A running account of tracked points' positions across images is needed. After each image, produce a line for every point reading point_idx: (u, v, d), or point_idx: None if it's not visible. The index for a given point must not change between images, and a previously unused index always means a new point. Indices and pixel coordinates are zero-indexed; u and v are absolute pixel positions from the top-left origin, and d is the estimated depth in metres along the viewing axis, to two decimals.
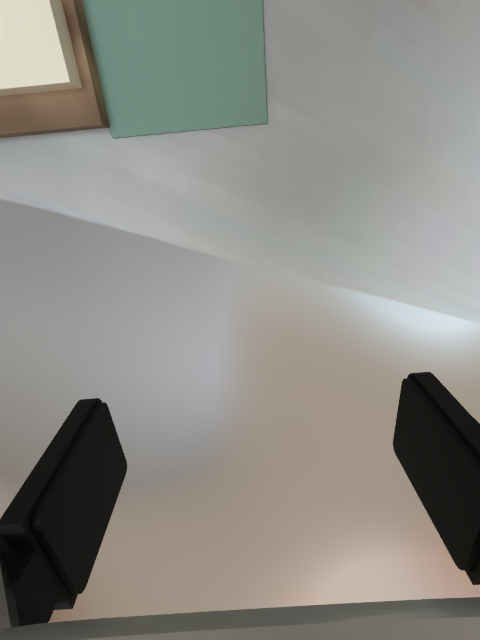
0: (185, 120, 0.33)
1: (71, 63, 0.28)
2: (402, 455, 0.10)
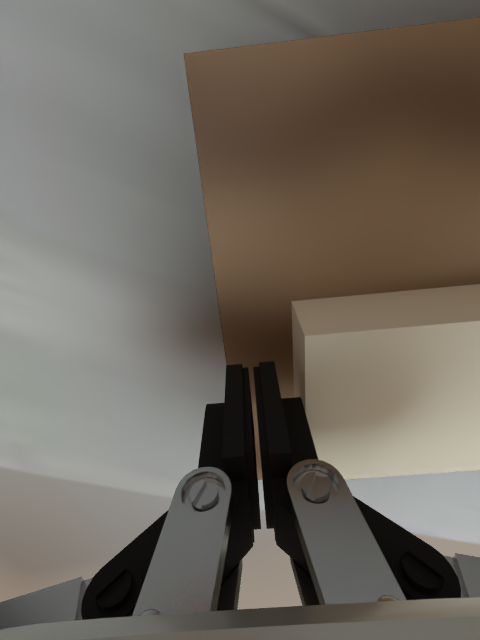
0: None
1: None
2: None
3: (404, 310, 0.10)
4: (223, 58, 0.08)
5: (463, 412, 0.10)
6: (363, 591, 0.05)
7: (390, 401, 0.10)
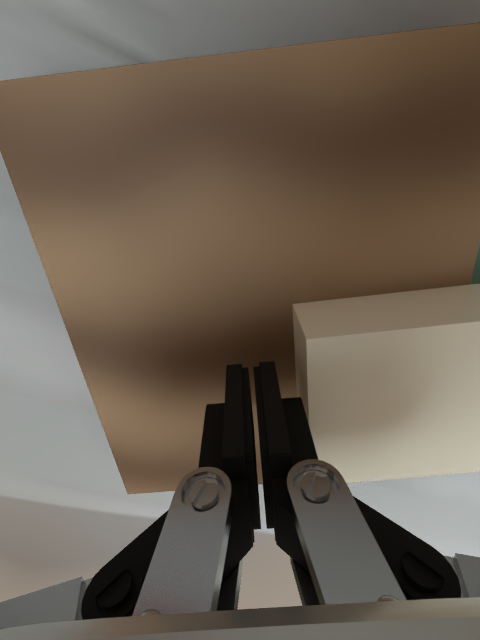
0: None
1: None
2: None
3: (406, 311, 0.10)
4: (16, 88, 0.09)
5: (468, 413, 0.10)
6: (363, 591, 0.05)
7: (394, 403, 0.10)
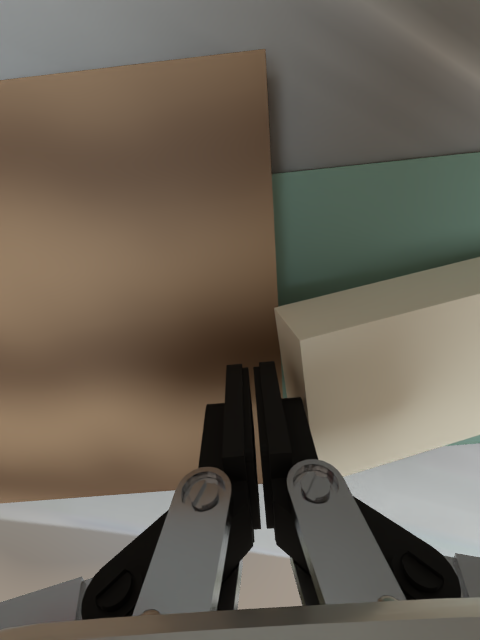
0: None
1: None
2: None
3: (384, 300, 0.10)
4: None
5: (449, 387, 0.11)
6: (364, 591, 0.05)
7: (385, 389, 0.10)
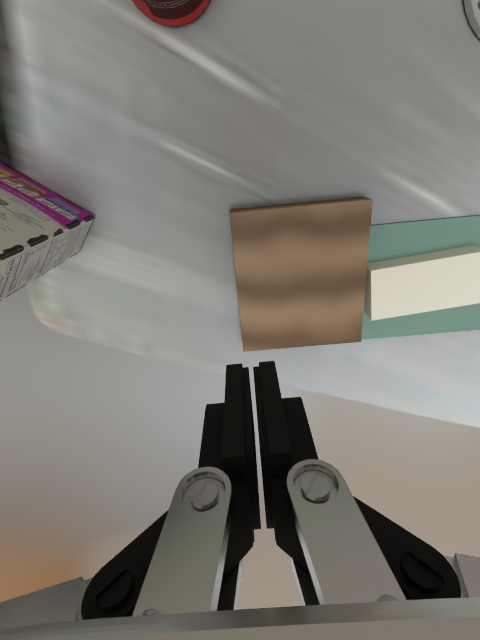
0: (417, 328, 0.41)
1: None
2: None
3: (397, 262, 0.36)
4: (239, 214, 0.33)
5: (417, 291, 0.36)
6: (363, 590, 0.05)
7: (395, 289, 0.36)
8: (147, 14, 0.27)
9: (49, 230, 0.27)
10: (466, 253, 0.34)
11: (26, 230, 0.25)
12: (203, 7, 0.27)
